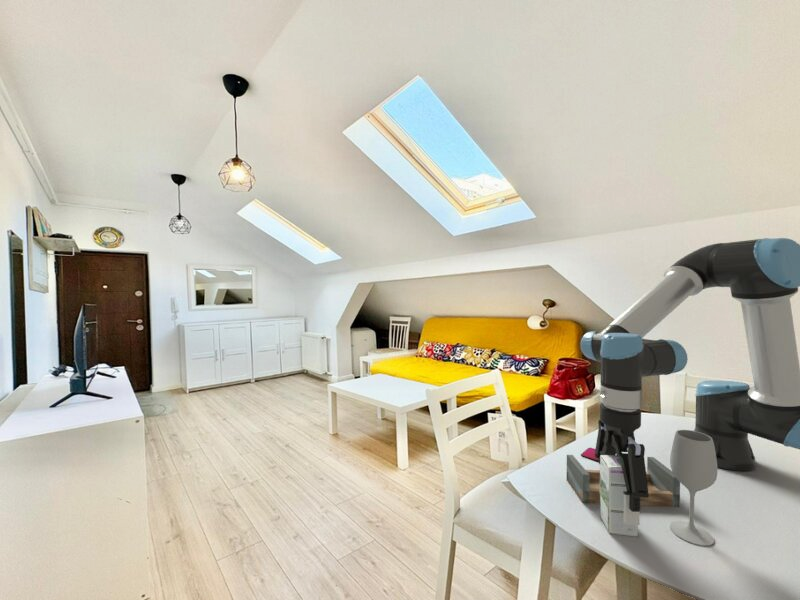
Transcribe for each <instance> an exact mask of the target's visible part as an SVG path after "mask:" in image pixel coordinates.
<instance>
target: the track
mask: <svg viewBox="0 0 800 600" xmlns="http://www.w3.org/2000/svg"><path fill="white" fill-rule="evenodd" d="M646 461H647V462H646V463H647V464H646V465H647V466H646V477H647V485H648V494H649V497H648V498H642V497H640V506H646V507H647V506H649V507H650V506H652V507H653V506H654V507H675V508H676V507H678V508H679V507H680V506H681V502H680V501H681V482H680V481H679V480H678V479H677V478H676V477H675V475H674V474H673V472H672V469H671V468H668V467H667V466H666V465H664V464H663V463H662V462H661V461H660V460H658V459H657V458H656V457H654V456H647V458H646ZM567 481H568V482H567ZM566 482H567V483H568V484H569V486H570V485H571V486H570V487H571V489H572V490H573V492H574V491H575V492H574V493H575V495H576V496H577V497H578V498H579V500H580V502H581V503H582V504H597V505H600V469H585V468H584V466H583V465H582V464H581V463H580V462H579V461H578V459H577V458H576V457H575V456H574V455H573V454H566Z"/></svg>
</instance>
